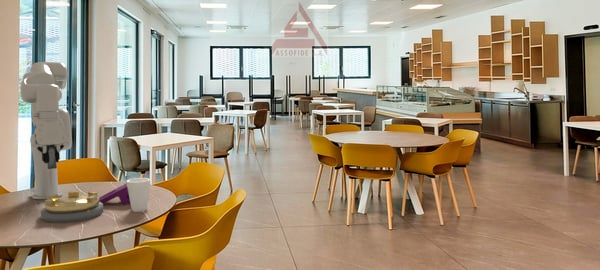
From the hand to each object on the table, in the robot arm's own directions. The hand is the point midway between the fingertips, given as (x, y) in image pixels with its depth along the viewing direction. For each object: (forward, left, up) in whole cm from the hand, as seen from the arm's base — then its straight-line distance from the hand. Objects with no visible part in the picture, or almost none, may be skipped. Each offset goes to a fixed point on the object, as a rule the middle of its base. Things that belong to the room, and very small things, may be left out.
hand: (51, 161), depth 176 cm
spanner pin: (+1, 0, -3) cm, 3 cm away
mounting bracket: (+7, +29, -24) cm, 38 cm away
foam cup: (+24, +21, -23) cm, 40 cm away
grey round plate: (+2, +7, -23) cm, 24 cm away
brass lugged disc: (+2, +7, -20) cm, 21 cm away
